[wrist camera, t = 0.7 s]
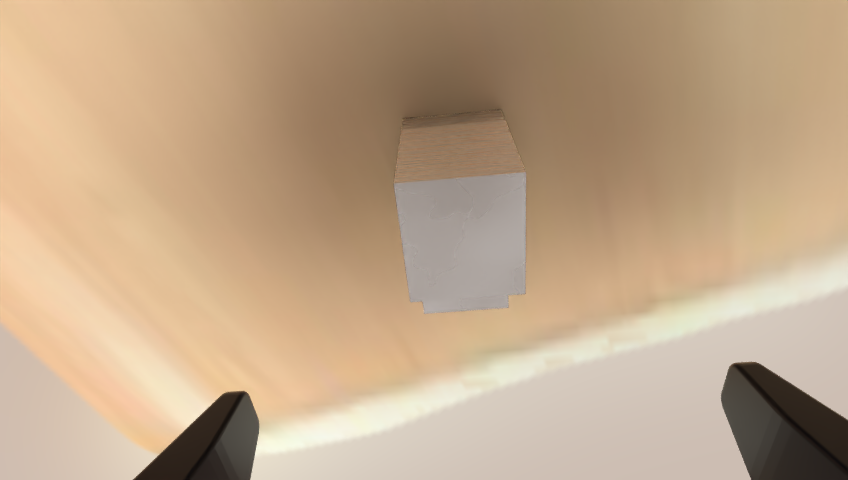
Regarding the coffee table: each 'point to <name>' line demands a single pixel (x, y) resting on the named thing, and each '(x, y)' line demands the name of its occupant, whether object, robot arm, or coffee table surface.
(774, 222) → the coffee table surface
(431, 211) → the grey stepped block
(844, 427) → the robot arm
